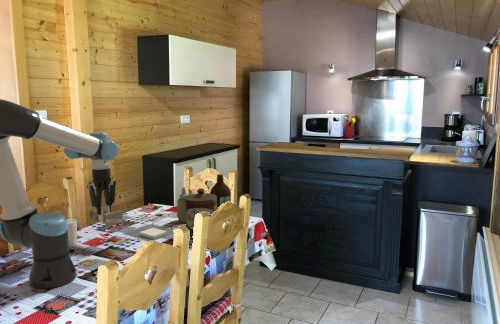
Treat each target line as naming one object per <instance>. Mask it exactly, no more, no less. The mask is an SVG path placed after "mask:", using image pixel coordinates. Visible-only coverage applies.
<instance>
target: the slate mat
mask: <svg viewBox="0 0 500 324" xmlns="http://www.w3.org/2000/svg"><path fill="white" fill-rule="evenodd" d="M151 228H156V229H159V230H163V231H167V235H165V236H162V237H159V238H156V239H151V238H147V237H144V236H140V234H139V232H141V231H145V230H148V229H151ZM173 230H174V229H173V228H169V227H164V226H161V225H158V224H154V223H152V224H151V223H150V224H148V225H145V226H142V227H138V228H134V229H132V230H130V231H129V230H128V231H126V232H123V233H122V234H123V235H125V236H129V237H132V238H137V239H140V240H142V241H146V242H149V240H154V241H156V240H160V239H162V238H165V237H167V236H170V235H174V233H173Z"/></svg>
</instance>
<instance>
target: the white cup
mask: <svg viewBox="0 0 500 324" xmlns="http://www.w3.org/2000/svg"><path fill="white" fill-rule="evenodd" d="M66 221H67V225H68V242H69V246H71V245H75V244H76V243H77V242H78V238H77V235H78V229H77V228H78V226H77V225H78V223H77V219H75V218H66Z"/></svg>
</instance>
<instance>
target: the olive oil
mask: <svg viewBox="0 0 500 324" xmlns="http://www.w3.org/2000/svg"><path fill="white" fill-rule="evenodd" d="M209 194H214V195H216V196H217V209H218V207H219V206H220V205H221V204H222V203H225V202H227V201H230V202H231V203H232V192H231V189H230V186H228V184H226V183H225V181H224V174H222V173H219V174H216V183H214V185H213V186H212V187H211V189H210V191H209Z"/></svg>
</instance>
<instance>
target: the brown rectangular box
mask: <svg viewBox="0 0 500 324" xmlns="http://www.w3.org/2000/svg"><path fill="white" fill-rule="evenodd" d="M103 215H104V222H103V223H104V224H105V227H110V226H114V225H117V224H121V223H123V211H122V210H118V211H114V212H110V213H109V212H105V210H103ZM89 219H90V220H93V221H97V222H100V221H99V215H98V214H97V208H91V209H89Z"/></svg>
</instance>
